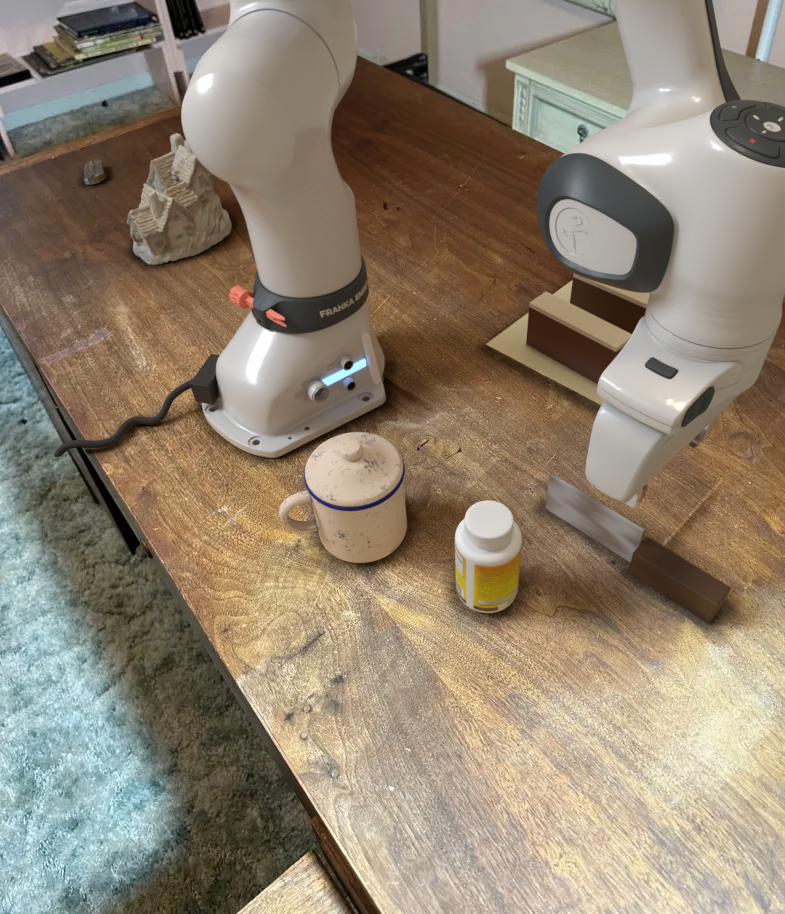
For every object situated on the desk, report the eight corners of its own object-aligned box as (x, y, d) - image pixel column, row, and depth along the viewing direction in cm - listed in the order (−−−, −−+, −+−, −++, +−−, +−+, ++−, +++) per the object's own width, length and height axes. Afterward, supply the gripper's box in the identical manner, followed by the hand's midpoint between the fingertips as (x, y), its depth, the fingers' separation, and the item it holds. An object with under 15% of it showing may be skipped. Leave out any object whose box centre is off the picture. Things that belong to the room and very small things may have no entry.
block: (104, 167, 133) (101, 157, 132) (107, 182, 129) (103, 172, 128) (83, 171, 133) (79, 161, 131) (85, 186, 129) (81, 176, 127)
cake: (653, 354, 88) (663, 311, 84) (568, 314, 94) (573, 272, 90) (694, 318, 92) (706, 275, 88) (609, 282, 98) (616, 240, 94)
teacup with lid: (392, 483, 79) (384, 399, 70) (422, 550, 73) (417, 467, 64) (279, 516, 77) (256, 434, 68) (300, 588, 70) (278, 508, 62)
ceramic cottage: (204, 193, 124) (175, 101, 112) (248, 238, 114) (221, 143, 103) (114, 230, 120) (74, 139, 108) (152, 280, 110) (112, 186, 99)
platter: (613, 418, 83) (614, 411, 82) (485, 350, 92) (485, 344, 92) (720, 319, 93) (722, 312, 93) (596, 267, 103) (597, 261, 102)
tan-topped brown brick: (608, 390, 85) (616, 348, 80) (525, 344, 91) (529, 302, 87) (625, 377, 86) (634, 335, 81) (542, 332, 92) (546, 291, 88)
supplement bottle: (530, 586, 69) (538, 515, 62) (491, 627, 66) (495, 558, 59) (481, 553, 72) (483, 482, 64) (442, 592, 69) (440, 521, 62)
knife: (722, 606, 66) (737, 573, 63) (708, 624, 65) (722, 592, 62) (553, 500, 76) (558, 466, 72) (538, 514, 75) (542, 480, 71)
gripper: (735, 266, 62) (694, 392, 72) (583, 389, 53) (559, 514, 63) (811, 297, 59) (756, 425, 69) (663, 434, 50) (624, 558, 60)
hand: (661, 468), depth 66 cm, fingers open, 8 cm apart
